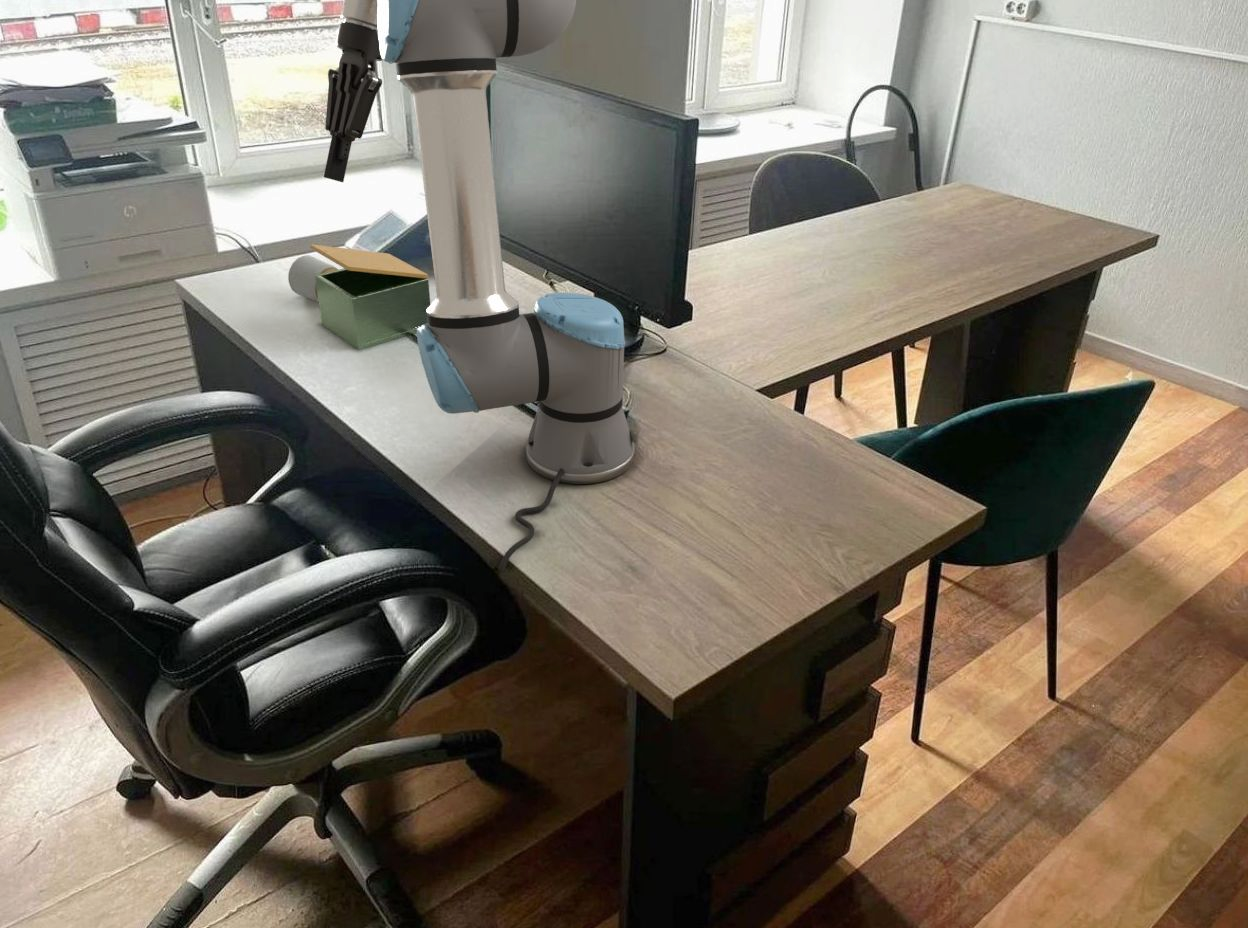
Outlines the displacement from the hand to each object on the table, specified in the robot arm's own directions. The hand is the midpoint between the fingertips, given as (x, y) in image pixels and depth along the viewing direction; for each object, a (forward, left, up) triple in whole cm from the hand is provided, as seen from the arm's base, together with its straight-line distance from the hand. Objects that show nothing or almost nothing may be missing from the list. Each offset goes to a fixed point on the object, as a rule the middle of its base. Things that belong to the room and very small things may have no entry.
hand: (333, 179), depth 161 cm
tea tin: (+6, 0, -27) cm, 28 cm away
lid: (+6, 0, -16) cm, 17 cm away
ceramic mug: (+10, +18, -28) cm, 34 cm away
